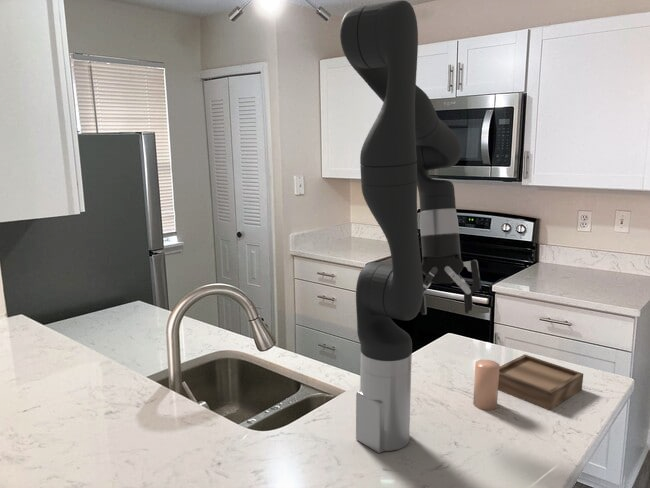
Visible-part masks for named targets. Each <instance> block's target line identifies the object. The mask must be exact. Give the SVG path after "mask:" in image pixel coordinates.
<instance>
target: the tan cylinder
mask: <svg viewBox="0 0 650 488" xmlns="http://www.w3.org/2000/svg"><path fill="white" fill-rule="evenodd" d="M474 363H475V365H474V383H473V400H472V401H473V403H472V405H473V406H474V407H475V408H477V409H479V410H483V411H493V410H496V409H497V408H498V400H499V399H498V397H499V390H498V384H499V368H500V366H501V365H500V363H499V362H497V361H494V360H491V359H479V360H476V361H475V362H474Z"/></svg>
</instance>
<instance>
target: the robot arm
mask: <svg viewBox="0 0 650 488" xmlns="http://www.w3.org/2000/svg"><path fill="white" fill-rule="evenodd" d="M339 28H340V29H339V40H340V46H341V48H342V52H343V54H344V56H345V58H346V59H347V61H348V63H349V64H350V66H351V67H352V68H353V69H354V71H356V73H357V74H358V75H359V76H360V77H361V78H362V79H363V82H365V83H366V84H367V85H368V87H369V88H370V89H371V90H372V91H373V92H374V93H375V94H376V96H377V97H378V98H379V99H380V100H381V101H382V106H381V108H380V111H379V113H378V114H377V115H376V118H375V120H374V123H372V126H371V127H370V129H369V131H368V133H367V135H366V138H365V139H364V142H363V144H362V147H361V150H360V155H359V158H360V159H359V160H360V161H359V164H360V168H359V169H360V182H361V183H360V184H361V194H362V196H363V199H364V202H365V203H366V205H367V207H368V209H369V211H370V214H372V216H373V218H374V219H375V221H376V222H377V224H378V226H379V227H380V228H381V230H382V233H383V234H384V236H385V240H386V241H387V245H388V247H389V252H390V257H391V264H389V263H384V262H377V261H375V262H374V261H371V262H368V263H367V264H365V265H364V266H363V267H362V268H361V270H360V272H359V275H358V277H357V279H356V287H355V307H356V310H355V311H356V325H357V326H356V329H357V337H358V340H359V343H360V369H359V372H360V377H359V381H360V382H359V385H360V386H359V390H358V391H356V394H355V398H356V399H355V402H356V403H355V440H356V441H358V442H360V443H362V444H363V445H365V446H366V447H368V448H369V449H372V451H375V452H376V453H378V454H380V453H383V452H390V451H397V450H400V449H403V448H404V447H406V446H407V445H408V443H409V442H410V433H411V432H410V428H411V425H410V424H411V394H412V393H411V392H412V391H411V390H412V389H411V388H412V387H411V386H412V357H413V354H412V353H413V342H412V338H411V336H410V334H409V333H408V332H406V331H405V330H404V329H403V328H402V327H399V326H398V325H397V324H396V323H395V322H394V320H400V321H411V320H414V318H416V317H417V316H418V315H419V313H421V315H424V316H425V315H427V314H428V313H427V312H428V309H427V308H428V307H427V296H426V295H425V293H426V292H427V290H428V289H429V287H431V284H434V285H439V284H442V283H443V284H452V283H455V284H456V285H457V286H458V287H459V288H460V289H461V290H462V292H464V294H463V301H464V302H463V303H464V314H469V315H470V313H471V312H472V311H473V308H474V305H473V304H474V303H473V293H475V292H478V291H480V290H481V289H482V284H481V276H480V269H479V261H478V260H477V259H473V260H468V261H467V260H466V261H463V259H462V255H461V243H460V241H461V240H460V226H459V219H458V214H457V209H456V208H457V207H456V205H457V204H456V196H455V195H456V194H455V193H456V192H455V185H454V183H453V182H452V181H451V180H447V179H446V180H445V179H435V178H432V177H431V175H430V173H429V171H432V170H438V169H440V170H441V169H446V168H447V169H448V168H451V167H453V166H455V165H456V164H457V163H458V162H459V161H460V158H461V156H462V146H461V142H460V140H459V138H458V136H457V134H455V132H454V131H453V130H452V129H451V128H450V127H449V126H448V125H447V124H446V123H444V122H443V121H442V120H441V118H439V116H438V114H437V111H436V110H435V109H436V108H435V107H434V105H433V102H432V101H431V99H430V98H429V96H428V94H427V93H426V92H425V91H424V90H422V88H420V86H418V85H417V74H418V73H417V71H418V70H417V67H418V54H419V53H418V52H419V49H418V48H419V29H418V21H417V15H416V12H415V10H414V7H413V5H412V4H411V3H410V2H409V1H407V0H393V1H387V2H381V3H375V4H368V5H364V6H363V5H362V6H357V7H353V8H352V9H350V10H348V11H347V12H346V13H344V16H343V18H342V19H341V23H340V27H339ZM418 196H419V210H420V211H419V212H420V216H419V217H420V219H419V227H418ZM419 229H420V238H419ZM419 239H420V241H421V242H420V241H419ZM420 243H421V244H420ZM420 245H421V249H420ZM421 256H422V259H421ZM464 267H465V268H466V269H467V271H468V272H470V273H471V276H472V277H471V279H472V285H471V286H470V285H469V284H468V283H467V282H466V280H465V279H464V278H463V277H462V275H460V273H462V271H463V269H464ZM423 274H424V275H425V278H424V277H423ZM392 319H394V320H392Z"/></svg>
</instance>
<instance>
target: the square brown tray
mask: <svg viewBox="0 0 650 488" xmlns="http://www.w3.org/2000/svg"><path fill="white" fill-rule="evenodd" d="M583 381H584V373H582V372H579V371H577V370H573V369H570V368H568V367H565V366H561V365H558V364H555V363H552V362H549V361H546V360H542V359H540V358H536V357H534V356H530V355H528V354H522V355H521V356H519V357H516V358H515V359H512V360H510V361H508V362H506V363H504V364H502V365H500V368H499V384H498V391H500V392H503V393H505V394H509V395H511V396H513V397H517V398H518V399H521V400H524V401H526V402H528V403H531V404H534V405H536V406H538V407H542V408H544V409H545V410H549V411H551V410H553V409H555V408H556V407H557V406H559V405H561V404H562V403H563V402H565V401H567V400H568V399H570V398H572V397H573V396H575V395H576V394H578V393H579V392H581V391H582V390H583V383H584V382H583Z"/></svg>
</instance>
